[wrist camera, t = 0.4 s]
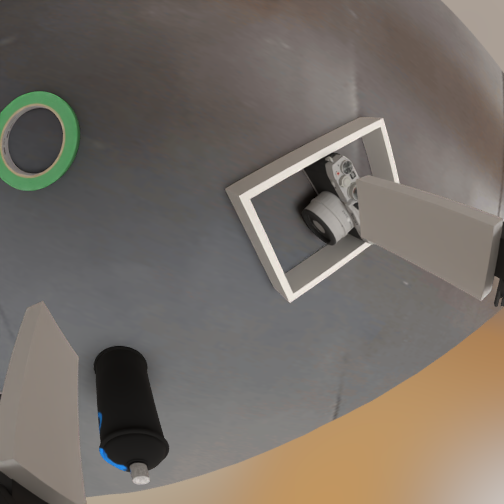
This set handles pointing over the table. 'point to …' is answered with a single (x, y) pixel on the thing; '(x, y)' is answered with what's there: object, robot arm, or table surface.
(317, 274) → the camera corral
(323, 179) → the camera
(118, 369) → the aerosol can
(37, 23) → the table surface
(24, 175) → the tape roll
